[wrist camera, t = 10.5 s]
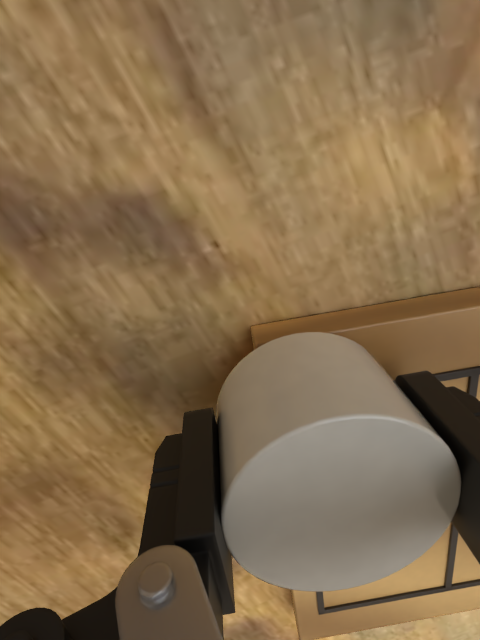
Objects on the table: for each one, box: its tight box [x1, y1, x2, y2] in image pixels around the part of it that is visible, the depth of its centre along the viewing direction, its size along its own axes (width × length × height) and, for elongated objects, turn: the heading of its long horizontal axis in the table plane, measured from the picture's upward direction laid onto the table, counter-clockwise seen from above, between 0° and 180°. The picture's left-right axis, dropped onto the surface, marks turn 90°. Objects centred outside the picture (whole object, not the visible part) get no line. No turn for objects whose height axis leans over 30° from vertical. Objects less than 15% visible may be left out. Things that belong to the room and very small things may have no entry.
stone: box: [216, 332, 462, 592], centre depth 9 cm, size 5×5×3 cm
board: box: [251, 287, 480, 640], centre depth 13 cm, size 14×12×1 cm
